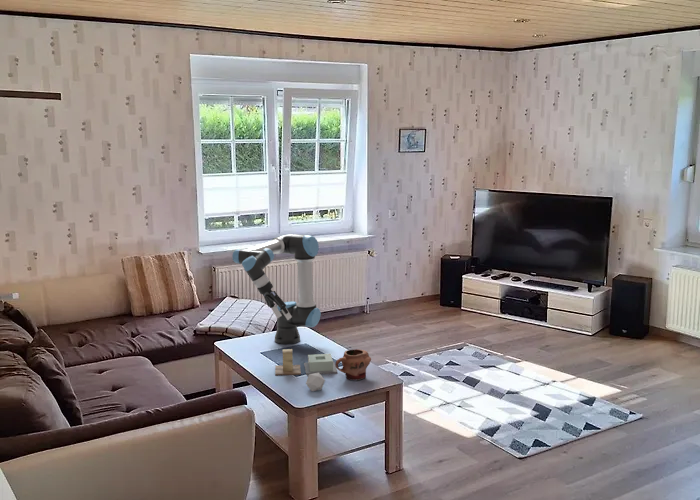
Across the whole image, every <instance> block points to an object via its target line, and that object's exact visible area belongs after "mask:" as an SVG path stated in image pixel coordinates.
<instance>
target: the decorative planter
mask: <svg viewBox="0 0 700 500" xmlns="http://www.w3.org/2000/svg"><path fill="white" fill-rule="evenodd" d="M371 360H372V358H371V356H370V355H369V352H368V351H366V350H365V349H357V348H356V349H348V350H346V351H344V352H343V356H342V357H340V358H338V359H337V360H336V361H335V366H336V369H337V371H340V372H341V373H343V374H345V378H346V379H347V380H351V381H360V380H363V379H365V378H366V377H367V368H368V366H369V365H370V363H371V362H372V361H371ZM340 363H341V364H342V368H340V367H339V364H340Z"/></svg>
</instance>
